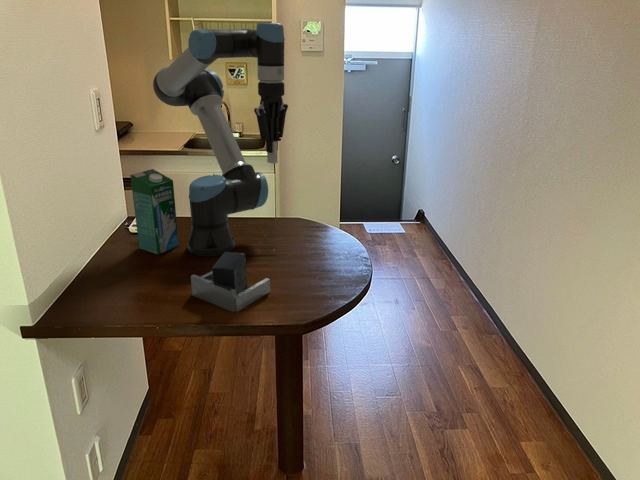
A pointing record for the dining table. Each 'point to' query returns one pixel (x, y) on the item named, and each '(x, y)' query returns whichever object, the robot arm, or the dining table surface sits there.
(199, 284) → the grey u-shaped bracket
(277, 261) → the dining table surface
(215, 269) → the small box
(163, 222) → the milk carton
